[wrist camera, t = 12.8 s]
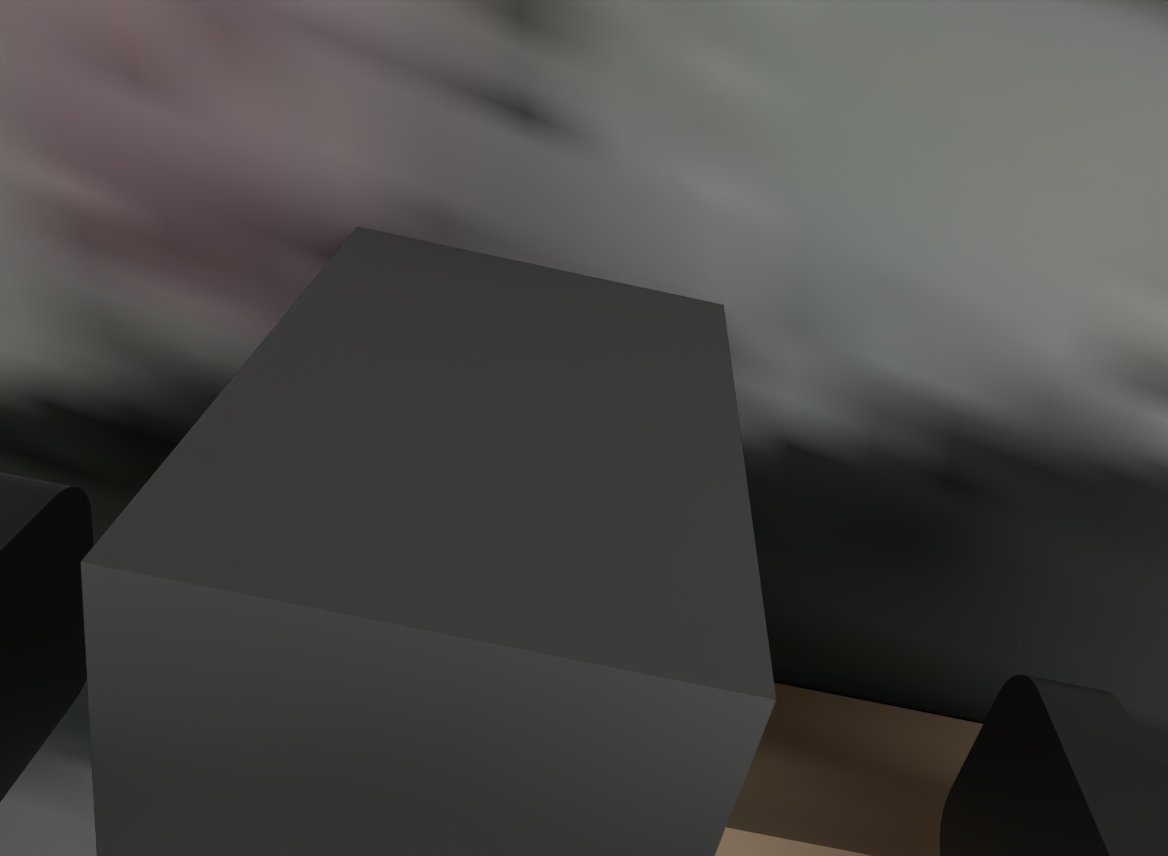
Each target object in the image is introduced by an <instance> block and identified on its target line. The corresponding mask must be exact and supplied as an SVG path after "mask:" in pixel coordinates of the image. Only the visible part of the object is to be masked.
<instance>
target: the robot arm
mask: <svg viewBox="0 0 1168 856" xmlns="http://www.w3.org/2000/svg"><path fill="white" fill-rule="evenodd" d="M92 548H93V533H92V519H91V509H90V504H89V500H88V498H87V496H86V494H85V492H84V491H83V490H82V489H80V488H78V487H74V486H69V485H64V484H59V483H54V482H49V481H44V480H39V479H33V478H28V477H23V476H18V475H13V474H8V473H3V472H0V802H1V800H2V799H3V798H4V796H5V795H6V794H7V792H8V791H9V790H10V788H11V787H12V785H13V784H14V783H15V781H16V780H17V779H18V777H19V776H20V775H21V773H22V772H23V770H24V769H25V768H26V766H27V765H28V764H29V762H30V761H31V759H32V758H33V757H34V755H35V754H36V753H37V751H38V750H39V749H40V747H41V746H42V744H43V743H44V742H45V740H46V739H47V738H48V736H49V735H50V734H51V732H52V731H53V729H54V728H55V727H56V725H57V724H58V723H59V721H60V720H61V719H62V717H63V716H64V714H65V713H66V712H67V710H68V709H69V708H70V706H71V705H72V704H73V702H74V701H75V699H76V698H77V696H78V695H79V693H80V691H81V689H82V687H83V686H84V683H85V681H86V679H87V667H86V648H85V630H84V612H83V594H82V576H81V561H82V560H83V559H84V557H85V556H86V555H87V554H88V553H89V551H90V550H91V549H92ZM940 856H1168V766H1167V765H1162V764H1157V763H1152V761H1151V760H1150V758H1149V756H1148V754H1147V752H1146V750H1145V748H1144V746H1143V744H1142V742H1141V740H1140V738H1139V737H1138V735H1137V733H1136V731H1135V729H1134V727H1133V725H1132V723H1131V721H1130V719H1129V717H1128V716H1127V714H1126V712H1125V710H1124V708H1123V706H1122V705H1121V703H1120V702H1119V700H1118V699H1117V698H1116V697H1115V696H1114V695H1112V694H1111V693H1109V692H1106V691H1103V690H1098V689H1093V688H1087V687H1082V686H1077V685H1072V684H1067V683H1062V682H1057V681H1052V680H1047V679H1041V678H1036V677H1031V676H1026V675H1016V676H1013V677H1012V678H1010V679H1009V680H1008V681H1007V682H1006V683H1005V684H1004V686H1003V687H1002V689H1001V690H1000V692H999V694H998V696H997V698H996V700H995V702H994V704H993V706H992V708H991V710H990V712H989V714H988V716H987V718H986V720H985V722H984V724H983V726H982V728H981V730H980V732H979V734H978V736H977V738H976V740H975V742H974V744H973V745H972V747H971V749H970V751H969V753H968V755H967V757H966V759H965V761H964V763H963V765H962V767H961V769H960V771H959V773H958V775H957V777H956V779H955V781H954V783H953V785H952V787H951V789H950V791H949V794H948V796H947V798H946V802H945V805H944V809H943V813H942V818H941V825H940Z"/></svg>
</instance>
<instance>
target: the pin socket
mask: <svg viewBox="0 0 1168 856" xmlns="http://www.w3.org/2000/svg"><path fill="white" fill-rule="evenodd" d="M774 687H775V695H776V702H775V704H774V707H773V709H772V712H771V714H770V717H769V720H768V722H767V725H766V727H765V730H764V732H763V735H762V737H761V740H760V742H759V745H758V747H757V750H756V752H755V755H754V757H753V760H752V763H751V765H750V768H749V770H748V773H747V775H746V778H745V780H744V783H743V785H742V788H741V790H740V793H739V795H738V798H737V801H736V803H735V806H734V808H733V811H732V813H731V816H730V818H729V821H728V823H727V826H726V828H725V831H724V833H723V836H722V838H721V841H720V844H719V846H718V849H717V851H716V854H715V856H940V825H941V818H942V813H943V809H944V805H945V802H946V798H947V796H948V794H949V791H950V789H951V787H952V785H953V783H954V781H955V779H956V777H957V775H958V773H959V771H960V769H961V767H962V765H963V763H964V761H965V759H966V757H967V755H968V753H969V751H970V749H971V747H972V745H973V744H974V742H975V740H976V738H977V736H978V734H979V732H980V730H981V728H982V726H983V724H981V723H975V722H970V721H965V720H960V719H955V718H950V717H945V716H940V715H935V714H930V713H925V712H920V711H915V710H910V709H905V708H900V707H895V706H890V705H885V704H880V703H875V702H870V701H864V700H859V699H854V698H849V697H844V696H839V695H834V694H829V693H824V692H819V691H814V690H809V689H804V688H799V687H794V686H789V685H784V684H779V683H774Z"/></svg>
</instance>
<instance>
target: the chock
mask: <svg viewBox="0 0 1168 856" xmlns="http://www.w3.org/2000/svg"><path fill="white" fill-rule="evenodd" d="M81 576H82V594H83V612H84V630H85V648H86V667H87V685H88V703H89V721H90V739H91V757H92V775H93V794H94V812H95V830H96V848H97V856H715V854H716V851H717V849H718V846H719V844H720V841H721V838H722V836H723V833H724V831H725V828H726V826H727V823H728V821H729V818H730V816H731V813H732V811H733V808H734V806H735V803H736V801H737V798H738V795H739V793H740V790H741V788H742V785H743V783H744V780H745V778H746V775H747V773H748V770H749V768H750V765H751V763H752V760H753V757H754V755H755V752H756V750H757V747H758V745H759V742H760V740H761V737H762V735H763V732H764V730H765V727H766V725H767V722H768V720H769V717H770V714H771V712H772V709H773V707H774V704H775V702H776V695H775V687H774V680H773V672H772V665H771V657H770V650H769V642H768V635H767V627H766V620H765V612H764V605H763V598H762V590H761V583H760V575H759V568H758V560H757V553H756V545H755V538H754V530H753V523H752V515H751V508H750V500H749V493H748V485H747V478H746V470H745V463H744V455H743V448H742V440H741V433H740V425H739V418H738V411H737V403H736V396H735V388H734V381H733V373H732V366H731V358H730V351H729V343H728V336H727V328H726V321H725V313H724V306H723V305H721V304H716V303H712V302H707V301H702V300H698V299H693V298H688V297H684V296H679V295H674V294H669V293H665V292H660V291H655V290H651V289H646V288H641V287H637V286H632V285H627V284H622V283H618V282H613V281H608V280H604V279H599V278H594V277H590V276H585V275H580V274H575V273H571V272H566V271H561V270H557V269H552V268H547V267H543V266H538V265H533V264H529V263H524V262H519V261H514V260H510V259H505V258H500V257H496V256H491V255H486V254H482V253H477V252H472V251H467V250H463V249H458V248H453V247H449V246H444V245H439V244H435V243H430V242H425V241H420V240H416V239H411V238H406V237H402V236H397V235H392V234H388V233H383V232H378V231H373V230H369V229H364V228H359V227H357V228H356V230H355V231H354V232H353V233H352V234H351V236H350V237H349V238H348V239H347V241H346V242H345V243H344V244H343V245H342V247H341V248H340V249H339V250H338V251H337V253H336V254H335V255H334V256H333V257H332V259H331V260H330V261H329V262H328V263H327V265H326V266H325V267H324V268H323V270H322V271H321V272H320V273H319V274H318V276H317V277H316V278H315V279H314V280H313V282H312V283H311V284H310V285H309V286H308V288H307V289H306V290H305V291H304V293H303V294H302V295H301V296H300V297H299V299H298V300H297V301H296V302H295V303H294V305H293V306H292V307H291V308H290V309H289V311H288V312H287V313H286V314H285V315H284V317H283V318H282V319H281V320H280V322H279V323H278V324H277V325H276V326H275V328H274V329H273V330H272V331H271V332H270V334H269V335H268V336H267V337H266V338H265V340H264V341H263V342H262V343H261V345H260V346H259V347H258V348H257V349H256V351H255V352H254V353H253V354H252V355H251V357H250V358H249V359H248V360H247V361H246V363H245V364H244V365H243V366H242V368H241V369H240V370H239V371H238V372H237V374H236V375H235V376H234V377H233V378H232V380H231V381H230V382H229V383H228V384H227V386H226V387H225V388H224V389H223V390H222V392H221V393H220V394H219V395H218V397H217V398H216V399H215V400H214V401H213V403H212V404H211V405H210V406H209V407H208V409H207V410H206V411H205V412H204V413H203V415H202V416H201V417H200V418H199V420H198V421H197V422H196V423H195V424H194V426H193V427H192V428H191V429H190V430H189V432H188V433H187V434H186V435H185V436H184V438H183V439H182V440H181V441H180V442H179V444H178V445H177V446H176V447H175V449H174V450H173V451H172V452H171V453H170V455H169V456H168V457H167V458H166V459H165V461H164V462H163V463H162V464H161V465H160V467H159V468H158V469H157V470H156V472H155V473H154V474H153V475H152V476H151V478H150V479H149V480H148V481H147V482H146V484H145V485H144V486H143V487H142V488H141V490H140V491H139V492H138V493H137V494H136V496H135V497H134V498H133V499H132V501H131V502H130V503H129V504H128V505H127V507H126V508H125V509H124V510H123V511H122V513H121V514H120V515H119V516H118V517H117V519H116V520H115V521H114V522H113V524H112V525H111V526H110V527H109V528H108V530H107V531H106V532H105V533H104V534H103V536H102V537H101V538H100V539H99V540H98V542H97V543H96V544H95V545H94V546H93V548H92V549H91V550H90V551H89V553H88V554H87V555H86V556H85V557H84V559H83V560H82V561H81Z"/></svg>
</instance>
